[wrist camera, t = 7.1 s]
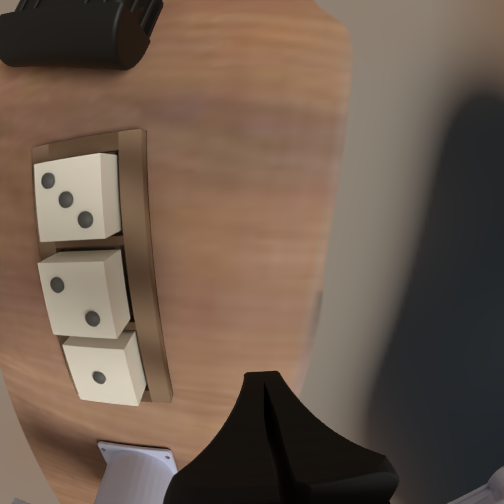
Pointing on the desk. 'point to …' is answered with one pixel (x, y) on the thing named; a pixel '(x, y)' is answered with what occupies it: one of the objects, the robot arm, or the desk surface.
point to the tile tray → (123, 245)
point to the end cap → (78, 33)
